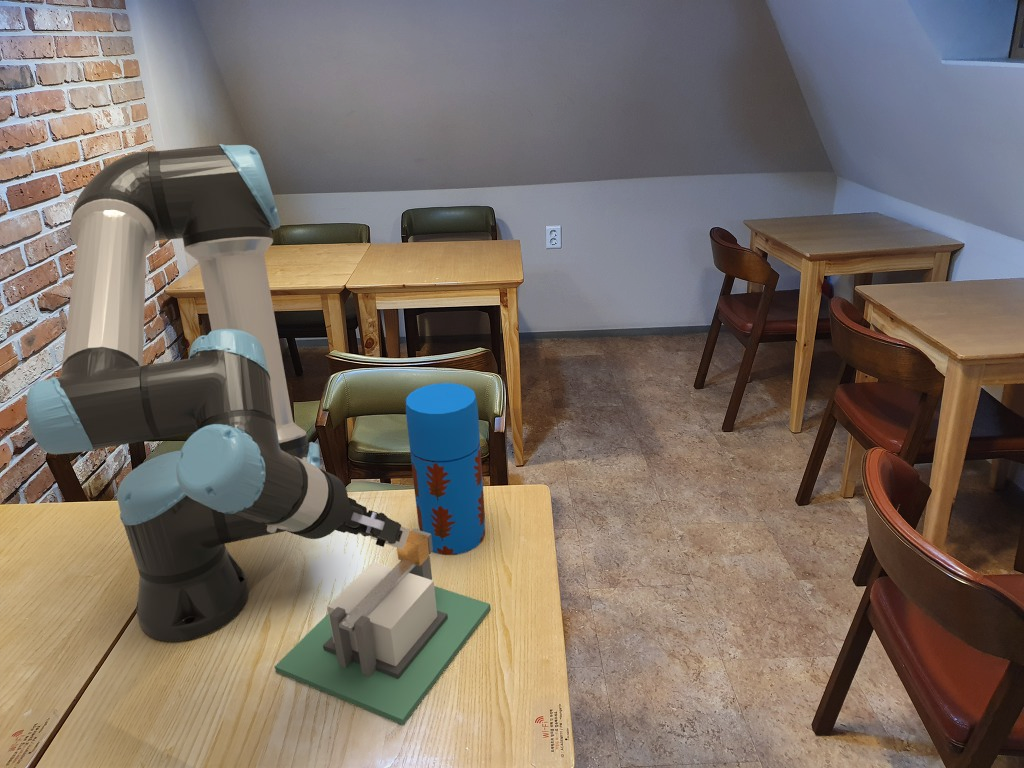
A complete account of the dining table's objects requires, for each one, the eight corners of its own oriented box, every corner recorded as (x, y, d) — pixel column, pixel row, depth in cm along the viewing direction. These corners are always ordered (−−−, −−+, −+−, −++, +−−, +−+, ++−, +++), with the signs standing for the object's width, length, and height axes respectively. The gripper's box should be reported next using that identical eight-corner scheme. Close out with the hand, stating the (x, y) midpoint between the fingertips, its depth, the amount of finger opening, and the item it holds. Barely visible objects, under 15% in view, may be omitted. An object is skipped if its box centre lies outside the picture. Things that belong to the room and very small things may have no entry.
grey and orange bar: (334, 625, 96) (330, 602, 95) (408, 550, 110) (405, 529, 108) (357, 634, 95) (353, 610, 93) (429, 557, 108) (427, 535, 107)
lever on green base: (275, 672, 101) (260, 606, 96) (375, 572, 118) (367, 512, 114) (403, 725, 92) (393, 656, 87) (490, 609, 110) (486, 546, 105)
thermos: (476, 558, 120) (466, 416, 110) (411, 552, 122) (394, 412, 112) (492, 518, 130) (483, 384, 119) (431, 513, 132) (417, 380, 121)
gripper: (243, 518, 85) (353, 553, 106) (337, 547, 80) (434, 578, 101) (268, 454, 87) (372, 501, 108) (361, 478, 82) (452, 522, 103)
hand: (402, 538), depth 104 cm, fingers closed
